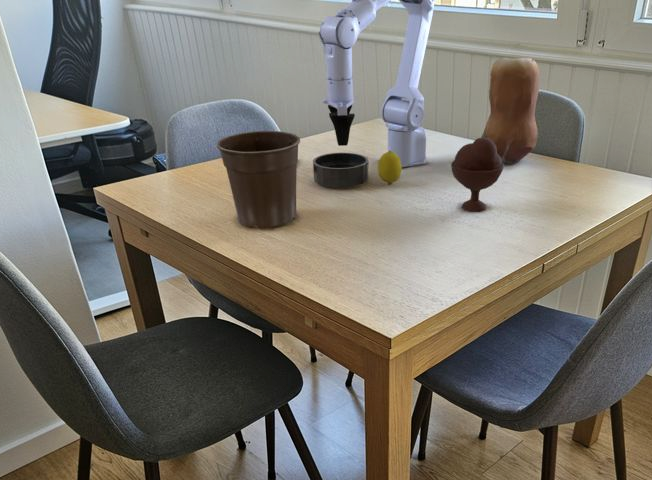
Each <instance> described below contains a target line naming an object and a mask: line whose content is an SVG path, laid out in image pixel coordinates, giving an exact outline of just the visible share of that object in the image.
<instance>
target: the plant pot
mask: <svg viewBox="0 0 652 480" xmlns="http://www.w3.org/2000/svg"><path fill="white" fill-rule="evenodd" d="M300 143H301V137H300V136H298V134H297V135H296V134H295V133H292V132H287V131H281V130H280V131H278V130H256V131H255V130H253V131H245V132H240V133H235V134H231V135H228V136H225V137H222V138H220V139H219V140H218V141H217V142H216V148H217V149H218V150H219V152H220V155H221V156H220V157H221V159H222V163H223V166H224V167H225V169H226V173H227V178H228V181H229V187H230V189H231V190H230V191H231V195H232V198H233V203H234V207H235V211H236V216H237V221H238V222H239V224H240V225H241V226H244V227H247V228H253V227H255V228H258V229H275V228H276V229H277V228H280V227H283V226H286V225H288V224H290V223H292V222H293V220H295V219H296V218H297V162H298V159H299V145H300Z"/></svg>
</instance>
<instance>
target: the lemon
mask: <svg viewBox="0 0 652 480" xmlns="http://www.w3.org/2000/svg"><path fill="white" fill-rule="evenodd" d="M377 164H378V165H377V172H378V176H379V178H380V179H381V180H382V181H383V182H384V183H386V184H387V185H389V186H390V185H393V183H395V182H397V181H398V180H399V179H400V176H401V175H402V170H403V169H402V168H403V167H402V166H401V161H400V158H399V156H398V155H397V154H395V153H393V152H392V151H388V150H387V152H384V153H383V154H381V156H380V158H379V160H378V163H377Z"/></svg>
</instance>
